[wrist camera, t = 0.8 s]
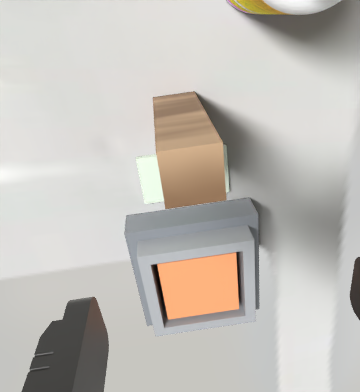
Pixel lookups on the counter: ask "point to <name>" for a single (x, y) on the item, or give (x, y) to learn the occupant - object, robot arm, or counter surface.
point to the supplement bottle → (282, 6)
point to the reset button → (200, 285)
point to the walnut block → (187, 152)
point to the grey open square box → (195, 248)
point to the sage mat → (152, 177)
